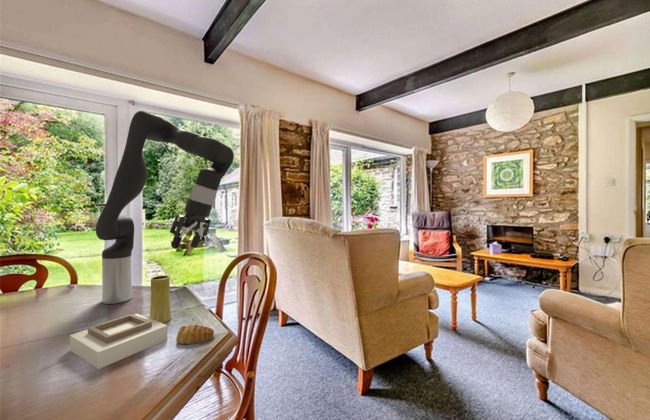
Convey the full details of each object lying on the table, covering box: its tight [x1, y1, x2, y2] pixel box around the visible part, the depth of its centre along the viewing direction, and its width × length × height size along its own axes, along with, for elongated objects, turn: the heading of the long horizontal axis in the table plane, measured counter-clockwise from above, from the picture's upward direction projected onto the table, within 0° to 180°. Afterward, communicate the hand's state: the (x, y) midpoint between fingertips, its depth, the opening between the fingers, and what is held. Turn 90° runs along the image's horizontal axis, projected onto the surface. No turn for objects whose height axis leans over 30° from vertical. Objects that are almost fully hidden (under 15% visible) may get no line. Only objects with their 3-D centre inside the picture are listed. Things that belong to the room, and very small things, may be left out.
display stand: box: [69, 313, 168, 370], centre depth 73 cm, size 16×16×6 cm
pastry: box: [176, 324, 215, 345], centre depth 77 cm, size 9×7×4 cm
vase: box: [149, 274, 172, 324], centre depth 88 cm, size 6×6×14 cm
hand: (184, 247), depth 87 cm, fingers open, 8 cm apart
